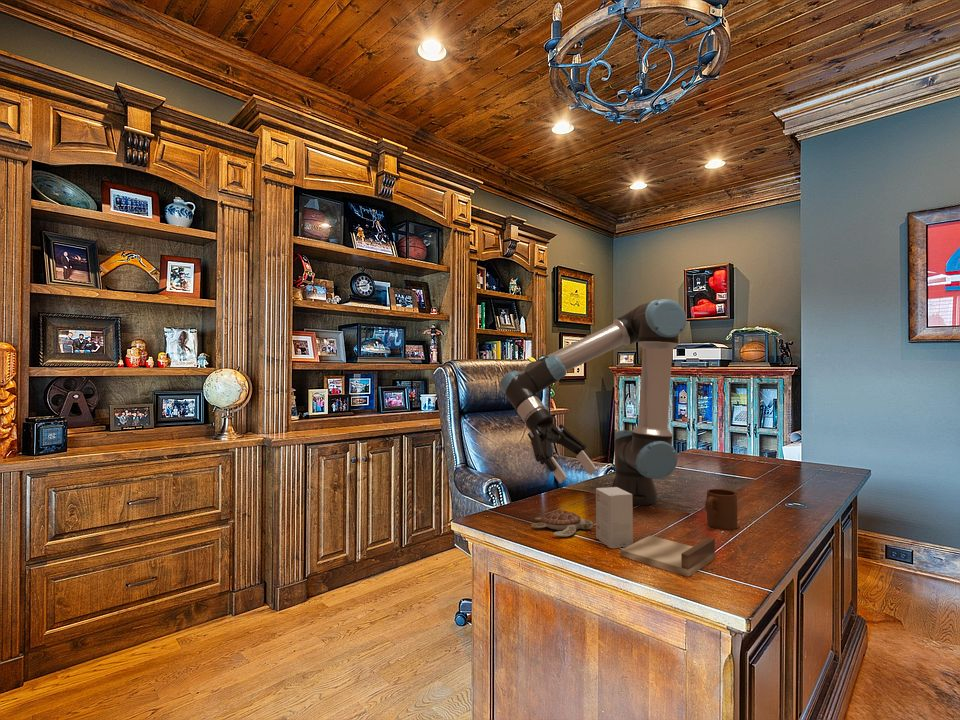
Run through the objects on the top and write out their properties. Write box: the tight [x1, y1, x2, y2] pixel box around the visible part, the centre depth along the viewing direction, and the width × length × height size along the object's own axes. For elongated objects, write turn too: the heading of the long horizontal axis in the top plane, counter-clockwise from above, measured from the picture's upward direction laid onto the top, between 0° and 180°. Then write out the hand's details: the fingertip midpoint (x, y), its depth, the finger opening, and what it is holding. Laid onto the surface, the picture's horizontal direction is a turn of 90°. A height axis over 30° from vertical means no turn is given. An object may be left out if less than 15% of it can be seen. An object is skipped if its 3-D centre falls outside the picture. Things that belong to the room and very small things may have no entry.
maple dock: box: [620, 535, 716, 578], centre depth 116 cm, size 16×14×4 cm
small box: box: [595, 486, 634, 549], centre depth 126 cm, size 8×6×13 cm
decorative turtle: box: [531, 510, 594, 537], centre depth 138 cm, size 18×17×5 cm
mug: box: [704, 488, 738, 531], centre depth 137 cm, size 12×8×9 cm, turn 129°
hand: (579, 476), depth 133 cm, fingers open, 13 cm apart
